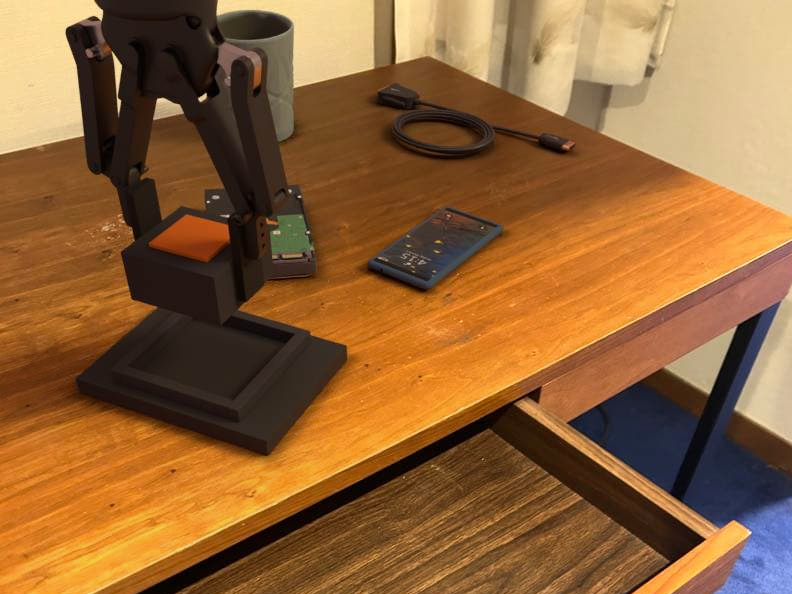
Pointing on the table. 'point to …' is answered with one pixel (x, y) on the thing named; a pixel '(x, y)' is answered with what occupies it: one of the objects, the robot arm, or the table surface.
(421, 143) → the cable
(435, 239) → the smartphone
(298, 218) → the disk drive
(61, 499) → the table surface
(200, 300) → the black and orange block
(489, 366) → the table surface
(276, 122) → the grey embossed cup
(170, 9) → the robot arm
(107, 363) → the base pad
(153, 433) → the table surface
